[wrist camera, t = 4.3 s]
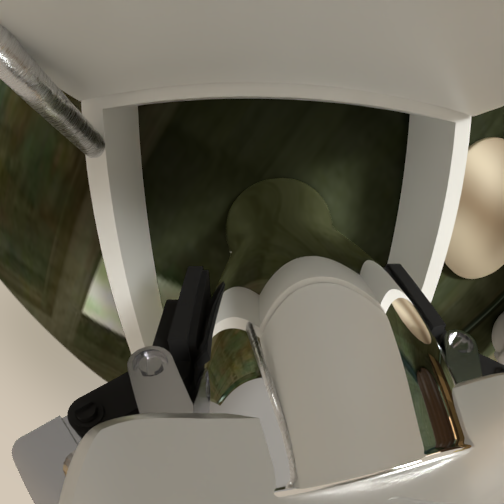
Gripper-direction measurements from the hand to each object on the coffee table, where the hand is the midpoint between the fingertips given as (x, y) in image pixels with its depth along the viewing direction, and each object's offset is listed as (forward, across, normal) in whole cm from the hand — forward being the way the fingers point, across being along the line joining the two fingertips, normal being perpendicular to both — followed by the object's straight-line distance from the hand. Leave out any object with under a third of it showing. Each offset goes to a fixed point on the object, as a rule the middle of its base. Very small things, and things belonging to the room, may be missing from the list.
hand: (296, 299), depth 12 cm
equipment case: (+7, 0, -3) cm, 7 cm away
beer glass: (+7, 0, 0) cm, 7 cm away
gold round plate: (+7, -16, -2) cm, 17 cm away
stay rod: (+3, +8, -9) cm, 12 cm away
